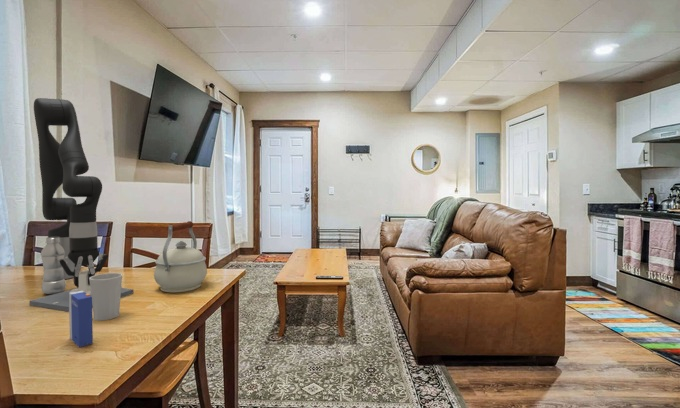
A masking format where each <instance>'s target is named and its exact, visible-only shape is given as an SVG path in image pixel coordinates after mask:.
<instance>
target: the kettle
mask: <svg viewBox="0 0 680 408" xmlns="http://www.w3.org/2000/svg"><path fill="white" fill-rule="evenodd" d="M193 226H194V222H193V221H191V220H190V221H189V220H188V221H184V222H179V223H175V224H169V225H167V231H168V232H167V233H168V234H167V238H166V239H165V240H166V241H165V243H164V246H163V248H162V252H161V253H160V254H159V255H158V257H157V259H155V260H154V263H155V268H154V271H153V279H154V281H155V282H156V285H159V286H160V290H161V291H162V292H164V293H173V294H175V293H177V294H178V293H184V292H190V291H193V290H197V289H199V288H200V287H201V286H202V282H203V281H204V280H205V279H206V277H207V274H208V267H207V264H206V259H207V257H206V256H204V254H203V253H202V252H201V250H199V249H198V248H197V247H198V245H197V244H198V243H197V238H196V236H195V234H194V233H195V232H194V231H193ZM185 229H188V232H189V235H190V237H191V239H192V245H193V246H192V247H189V246H187V243H186V241H185V242H184V241H183V240H180V241H178V242H176V244H175V247H173V248H169V245H170V243H171V240H172V237H173V233H174V232H175V231H182V230H185ZM168 248H169V249H168Z"/></svg>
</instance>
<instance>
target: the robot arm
mask: <svg viewBox="0 0 680 408" xmlns="http://www.w3.org/2000/svg"><path fill="white" fill-rule="evenodd" d="M76 112H77V111H76V108H75V106H74V104H73V103H72V102H71V101H70V100H68V99H62V98H61V99H60V98H59V99H58V98H48V97H47V98H46V97H39V98H38V97H37V98H35V100H34V101H33V114H34V120H35V125H36V126H35V127H36V133H37V139H38V155H39V157H38V159H39V160H38V161H39V171H40V179H41V186H42V187H41V189H42V191H41V192H42V193H41V194H42V195H41V197H42V199H41V202H42V203H41V204H42V206H41V208H42V210H41V211H42V216H43V218H44V219H45V220H47V221H65V220H66V222H64V223H63V224H62V225H60V226H58V227H55V228H51V229H49V230H48V231H47V237H59V241H60V242H59V244H60V245H61V246H62V248H63V249H64V251H65V254H64V258H63V259H59V260H58V261H59V263H60V265H61V266H62V268H63V273H64V279H65V280H67V279H73V285H74V286H75V287H76V288H79V276H78V275H79V274H80V273H81V269H82V266H87V268H88V269H87V270H89V273H90V274H89V278H90V277H92V276H94V275H96V274H97V273H98V272H101V271H102V270H103V267H104V265H105V264H106V261H107V259H108V257H109V255H108V254H105V253H100V251H99V249H98V247H99V246H98V235H99V232H98V225H97V207H98V205H99V200H100V197H101V194H102V191H103V183H102V181H101V179H99V178H98V177H97V176H87V175H84V174H86V173H87V172H88V171H89V170H90V169H89V168H90V167H89V163H88V160H87V157H86V154H85V152H84V148H83V144H82V143H83V142H82V138H81V137H82V136H81V132H80V126H79V121H78V116H77V113H76ZM51 126H52V127H53V126H54V127H55V126H56V127H57V126H58V127H59V126H61V127H62V126H64V127H65V126H66V127H67V131H66V134H65V136H64V138H63V139H62V140H61V142H59V141H58V140H57V139H56V138H55V137H54V135H53V134H52V132H51V131H50V127H51ZM60 187H62V192H63V193H64V194H65V195H67V197H54V196H55V194H56V191H57V190H58V189H59V188H60ZM76 198H85V200H84V201H83V202H82V203H77V200H76ZM96 259H98V263H97V264H96V266H95V265H94V262H95V261H96ZM89 285H90V281H89Z"/></svg>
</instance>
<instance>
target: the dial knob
mask: <svg viewBox="0 0 680 408" xmlns="http://www.w3.org/2000/svg"><path fill="white" fill-rule="evenodd" d="M89 274H90V273H89V269H87V270H86V269H85V270H81V271H80V273H79V275H78V276H79V287H78V289H75V288H73V289H74V290H72V289H70V290H71V291H70V292H69V293H71V292H77V291H84V292H85V293H87V294H90V296H91V288H90V285H89Z"/></svg>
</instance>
